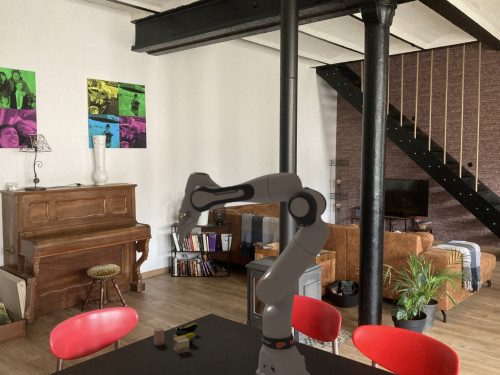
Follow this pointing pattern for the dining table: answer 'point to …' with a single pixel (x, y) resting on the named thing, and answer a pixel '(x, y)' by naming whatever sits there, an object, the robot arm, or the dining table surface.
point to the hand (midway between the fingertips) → (183, 241)
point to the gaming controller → (186, 332)
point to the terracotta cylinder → (158, 336)
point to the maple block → (181, 344)
